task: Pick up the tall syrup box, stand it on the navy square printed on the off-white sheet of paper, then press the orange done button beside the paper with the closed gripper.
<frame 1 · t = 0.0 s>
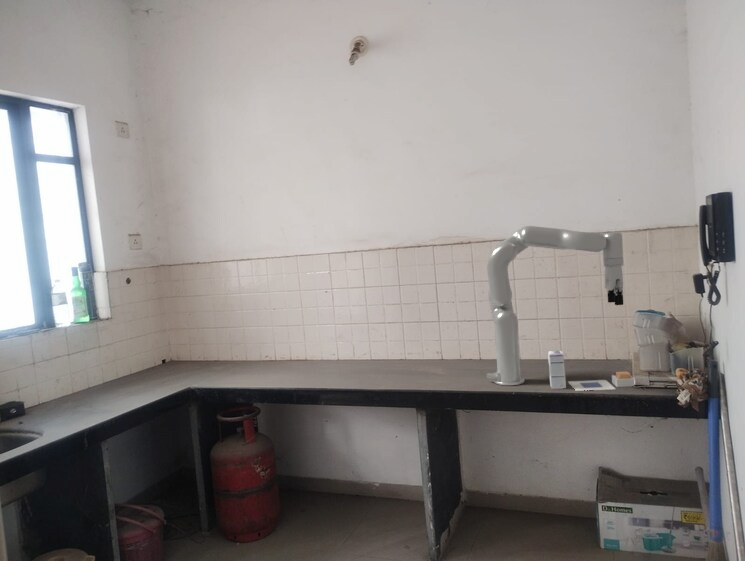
hand: (615, 303, 231), 31 cm above the worktop, tool pointing down, fingers open, 9 cm apart
done button: (623, 375, 222), point 3 cm above the worktop, slide at 0.0 cm
button housing: (623, 384, 223), on the worktop
syrup box: (557, 387, 226), on the worktop
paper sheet: (591, 385, 224), on the worktop
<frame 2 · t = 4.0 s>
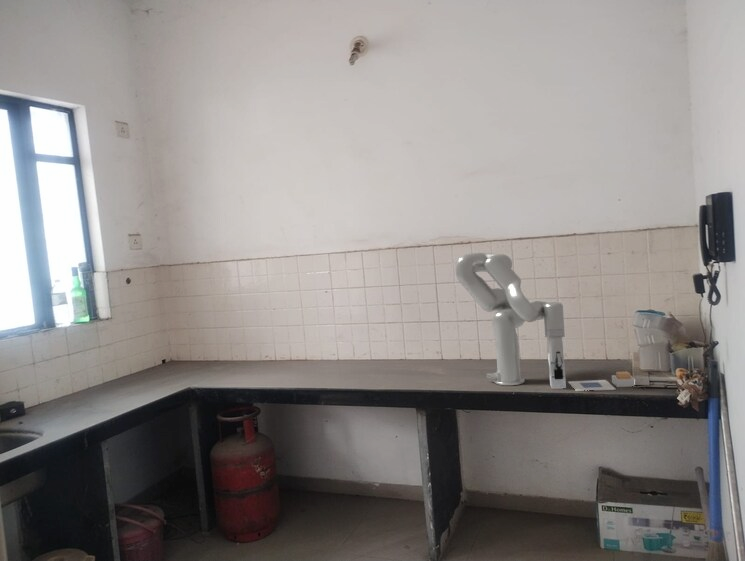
hand: (557, 376, 226), 4 cm above the worktop, tool pointing down, fingers closed on syrup box, 5 cm apart
syrup box: (557, 387, 226), on the worktop, touching gripper
everything else where it was.
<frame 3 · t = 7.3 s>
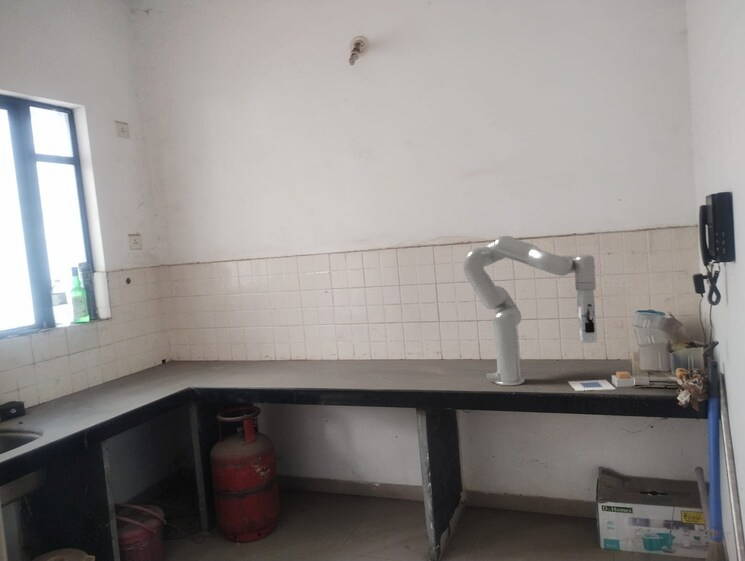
hand: (587, 330, 223), 22 cm above the worktop, tool pointing down, fingers closed on syrup box, 5 cm apart
syrup box: (588, 341, 223), point 18 cm above the worktop, touching gripper
everything else where it was.
when the fingers open (6 cm above the worktop, at t = 10.7 s): syrup box drops 1 cm, resting on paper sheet.
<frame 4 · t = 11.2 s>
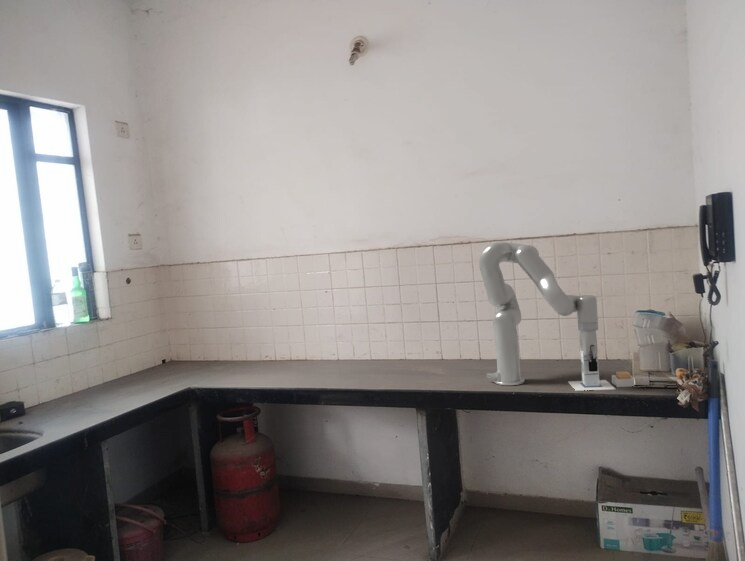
hand: (590, 368, 224), 7 cm above the worktop, tool pointing down, fingers open, 9 cm apart
syrup box: (590, 385, 224), resting on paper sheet
everything else where it was.
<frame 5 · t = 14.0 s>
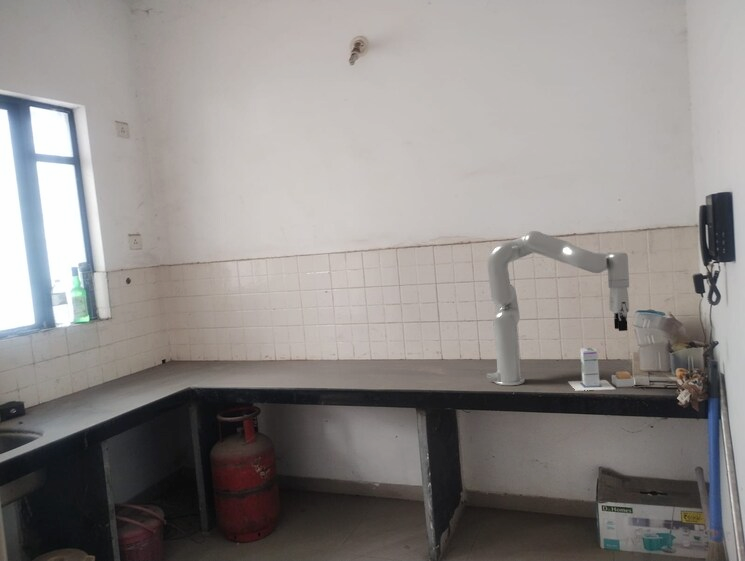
hand: (620, 329, 221), 22 cm above the worktop, tool pointing down, fingers open, 4 cm apart
nothing on the worktop moved.
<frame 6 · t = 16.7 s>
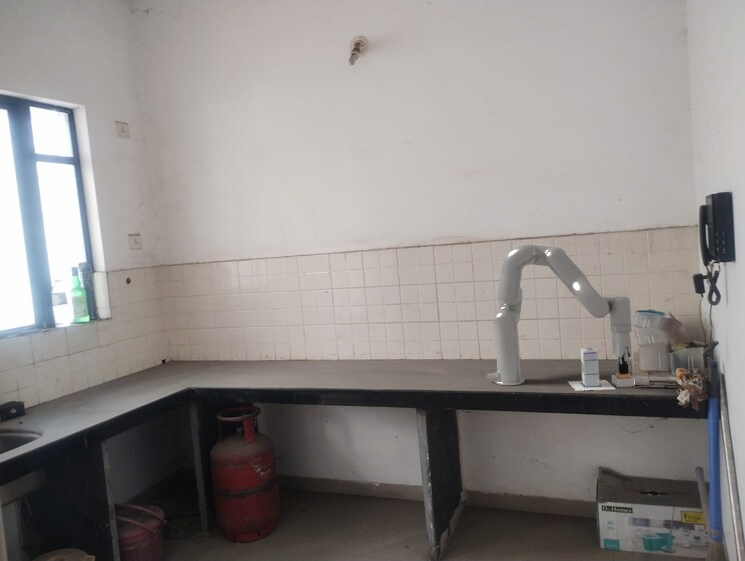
hand: (623, 373, 222), 5 cm above the worktop, tool pointing down, fingers closed
done button: (623, 376, 222), point 3 cm above the worktop, slide at 0.2 cm, touching gripper
everything else where it was.
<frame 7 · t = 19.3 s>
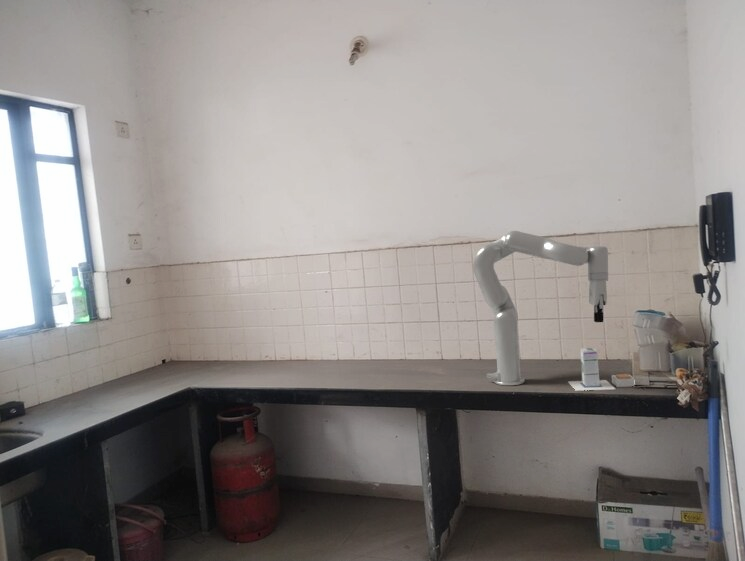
hand: (598, 321, 227), 25 cm above the worktop, tool pointing down, fingers closed
done button: (623, 378, 223), point 2 cm above the worktop, slide at 1.0 cm
everything else where it was.
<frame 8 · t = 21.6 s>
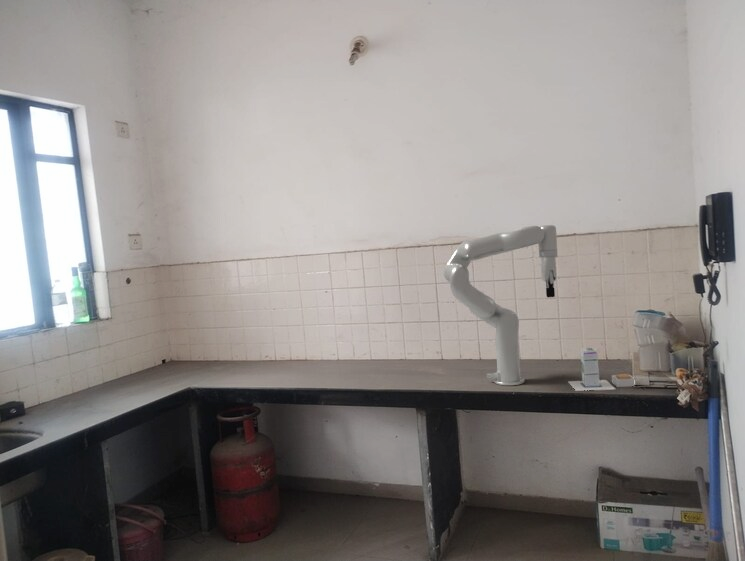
hand: (550, 296, 239), 35 cm above the worktop, tool pointing down, fingers closed
nothing on the worktop moved.
at the end: syrup box inside the target area on the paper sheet (0.2 cm from its centre), point 0.2 cm above the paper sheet's base; syrup box tilted 0°; done button slide at 1.0 cm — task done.
